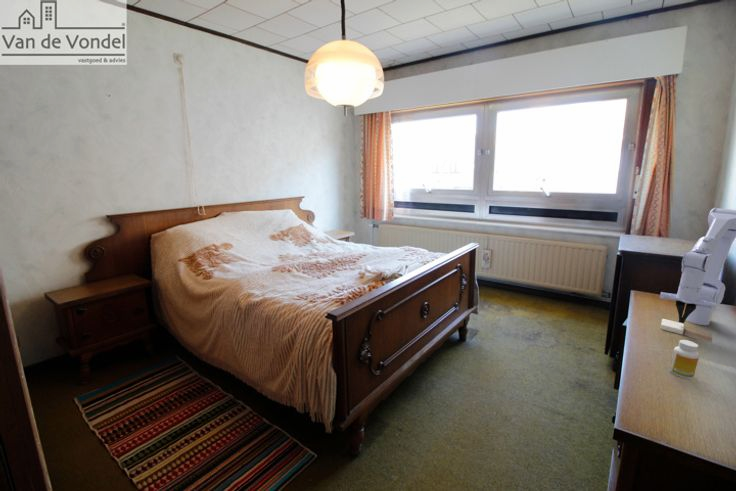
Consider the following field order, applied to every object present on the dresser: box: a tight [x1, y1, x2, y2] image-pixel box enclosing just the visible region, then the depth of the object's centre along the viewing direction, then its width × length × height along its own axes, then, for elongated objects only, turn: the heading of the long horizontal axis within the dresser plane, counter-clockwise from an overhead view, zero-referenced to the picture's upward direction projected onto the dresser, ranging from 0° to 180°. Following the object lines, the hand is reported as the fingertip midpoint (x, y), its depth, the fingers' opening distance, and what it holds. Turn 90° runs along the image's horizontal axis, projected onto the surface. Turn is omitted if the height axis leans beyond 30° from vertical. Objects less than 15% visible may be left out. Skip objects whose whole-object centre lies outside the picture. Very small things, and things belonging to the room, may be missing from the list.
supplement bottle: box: [668, 339, 700, 380], centre depth 100 cm, size 5×5×10 cm
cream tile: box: [660, 318, 685, 335], centre depth 127 cm, size 7×6×2 cm
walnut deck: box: [684, 327, 713, 343], centre depth 122 cm, size 8×7×1 cm
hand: (681, 322), depth 125 cm, fingers closed
